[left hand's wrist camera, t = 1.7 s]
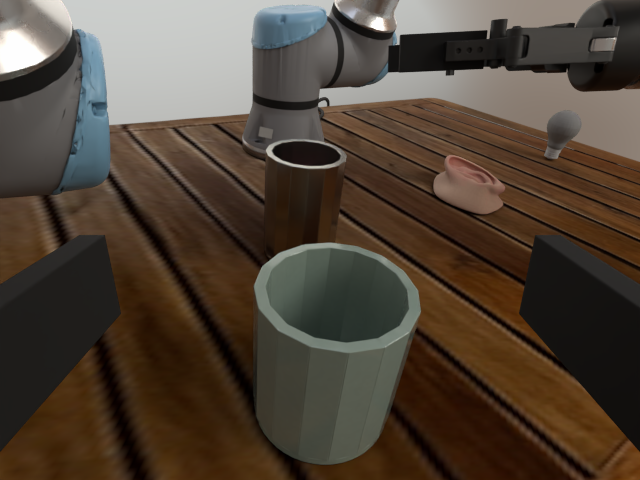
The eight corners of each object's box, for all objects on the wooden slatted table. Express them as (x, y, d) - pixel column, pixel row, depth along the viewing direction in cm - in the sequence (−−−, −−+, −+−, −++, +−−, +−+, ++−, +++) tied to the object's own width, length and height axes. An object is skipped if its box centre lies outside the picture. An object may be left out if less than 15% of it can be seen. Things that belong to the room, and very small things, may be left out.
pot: (229, 382, 31) (225, 270, 25) (330, 331, 37) (345, 229, 31) (307, 497, 25) (324, 383, 19) (414, 413, 30) (454, 305, 24)
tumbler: (251, 243, 48) (251, 145, 41) (306, 226, 52) (314, 135, 46) (289, 280, 43) (297, 174, 36) (347, 257, 47) (362, 160, 41)
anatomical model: (509, 196, 56) (429, 175, 60) (500, 220, 58) (423, 199, 62) (513, 166, 67) (444, 151, 70) (505, 188, 69) (439, 172, 72)
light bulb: (539, 161, 83) (560, 112, 77) (531, 151, 88) (549, 105, 82) (569, 165, 82) (592, 116, 77) (559, 155, 87) (579, 109, 82)
